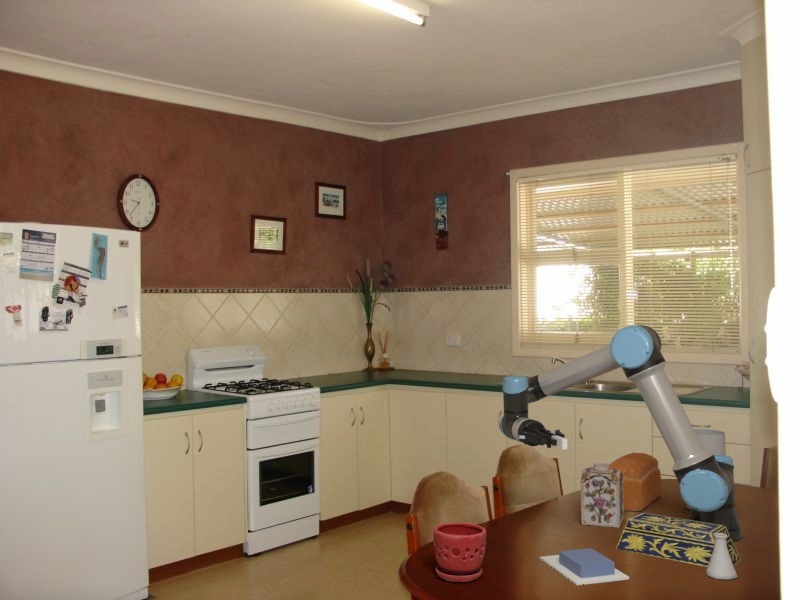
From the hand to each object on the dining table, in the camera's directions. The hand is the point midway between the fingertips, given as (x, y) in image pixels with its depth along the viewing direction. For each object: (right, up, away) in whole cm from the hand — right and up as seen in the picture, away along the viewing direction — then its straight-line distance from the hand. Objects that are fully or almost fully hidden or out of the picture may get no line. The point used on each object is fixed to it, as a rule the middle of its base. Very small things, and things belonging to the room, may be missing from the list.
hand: (564, 444), depth 207 cm
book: (+1, -28, -6) cm, 28 cm away
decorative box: (+30, -30, +1) cm, 42 cm away
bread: (+35, -31, +58) cm, 74 cm away
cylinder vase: (+56, -30, +46) cm, 78 cm away
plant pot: (-29, -31, -13) cm, 44 cm away
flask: (+35, -29, -17) cm, 48 cm away
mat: (+2, -30, -10) cm, 31 cm away
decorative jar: (+19, -31, +34) cm, 49 cm away
